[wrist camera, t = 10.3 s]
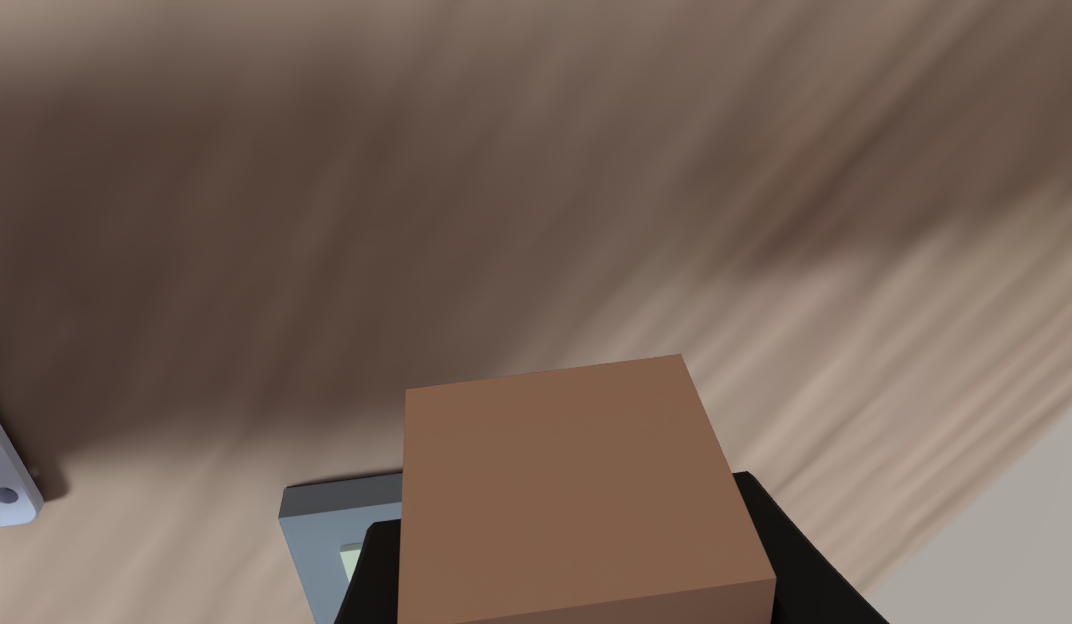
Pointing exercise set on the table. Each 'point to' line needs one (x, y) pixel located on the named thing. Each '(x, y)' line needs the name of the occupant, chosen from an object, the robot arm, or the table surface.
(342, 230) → the table surface
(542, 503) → the terracotta cube
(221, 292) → the table surface
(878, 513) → the table surface
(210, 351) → the table surface
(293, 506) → the baseplate
